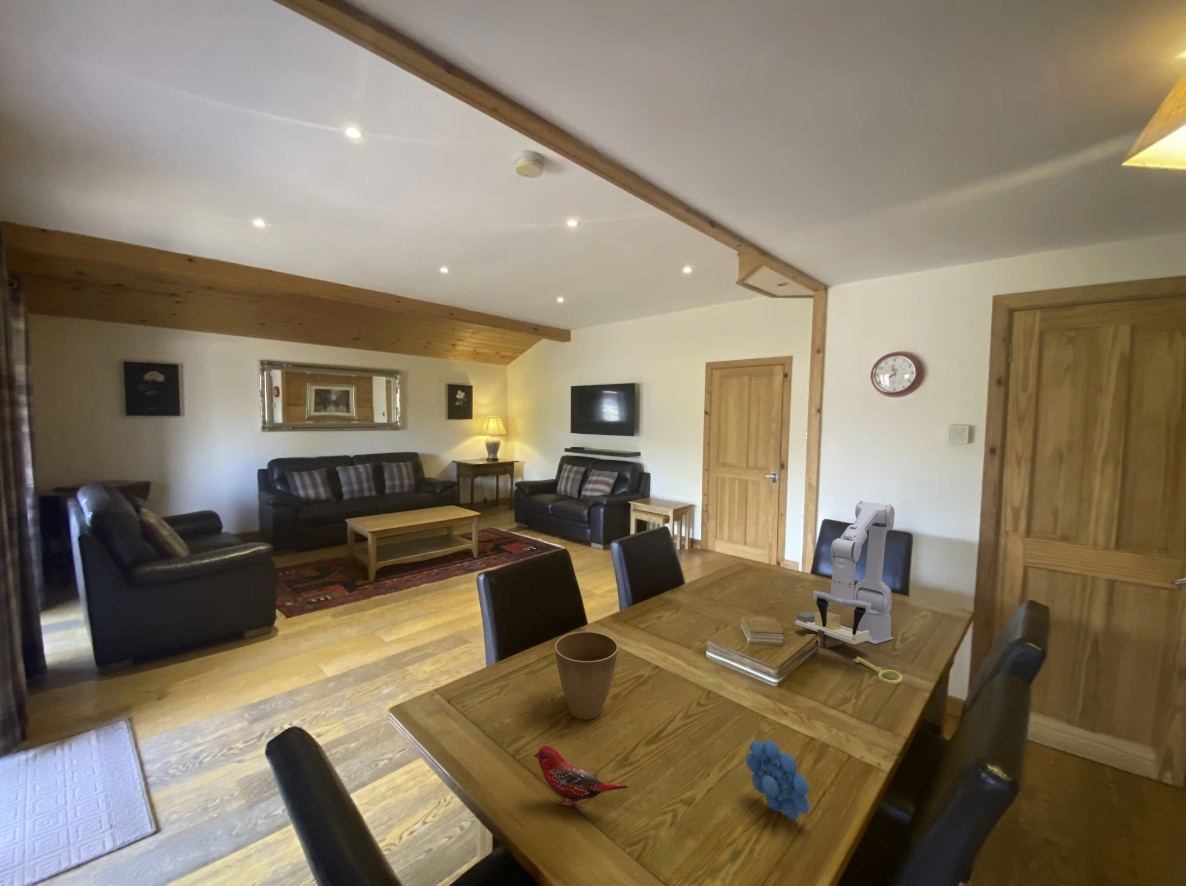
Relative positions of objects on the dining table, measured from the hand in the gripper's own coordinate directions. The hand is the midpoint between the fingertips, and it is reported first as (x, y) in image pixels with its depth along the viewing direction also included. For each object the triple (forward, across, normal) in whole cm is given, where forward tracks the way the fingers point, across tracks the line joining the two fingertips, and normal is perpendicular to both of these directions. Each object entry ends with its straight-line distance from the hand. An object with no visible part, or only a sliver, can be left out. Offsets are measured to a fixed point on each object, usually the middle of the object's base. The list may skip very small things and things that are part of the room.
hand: (839, 630), depth 138 cm
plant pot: (+18, -44, -59) cm, 76 cm away
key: (+11, +10, +5) cm, 15 cm away
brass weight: (+4, -5, +16) cm, 17 cm away
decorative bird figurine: (+21, -27, -83) cm, 90 cm away
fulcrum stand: (+9, -4, +16) cm, 18 cm away
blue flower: (+18, +1, -63) cm, 65 cm away
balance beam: (+5, -4, +15) cm, 17 cm away
